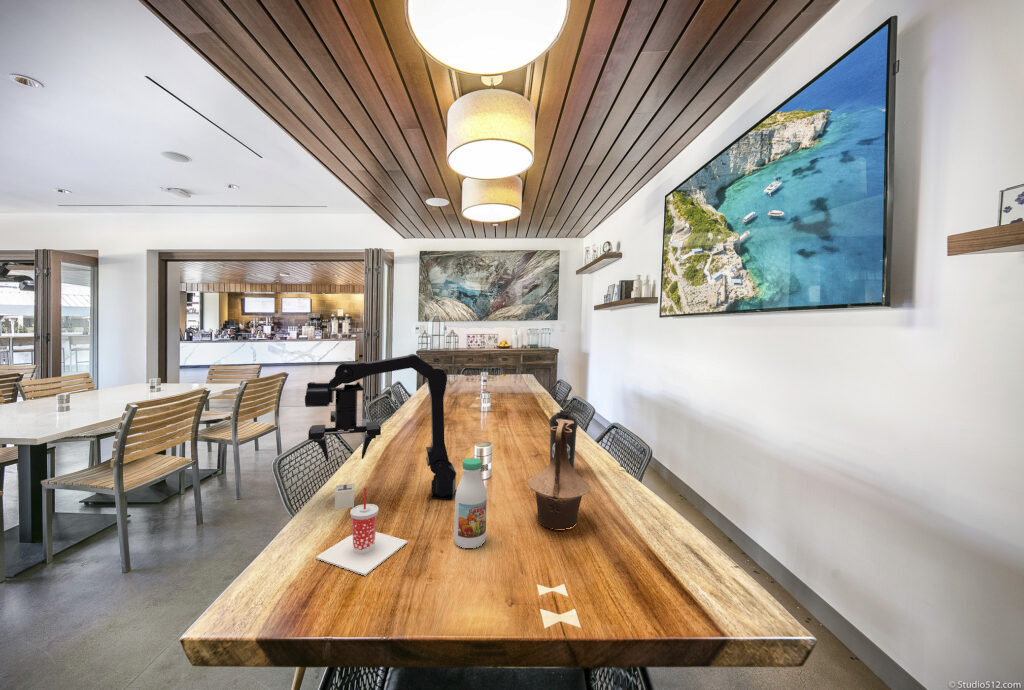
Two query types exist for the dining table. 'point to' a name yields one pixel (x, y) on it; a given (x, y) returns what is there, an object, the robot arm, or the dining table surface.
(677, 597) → the dining table surface
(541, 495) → the pitcher
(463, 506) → the milk bottle
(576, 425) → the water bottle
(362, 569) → the mat
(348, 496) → the letter block
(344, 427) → the robot arm
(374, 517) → the beverage cup
